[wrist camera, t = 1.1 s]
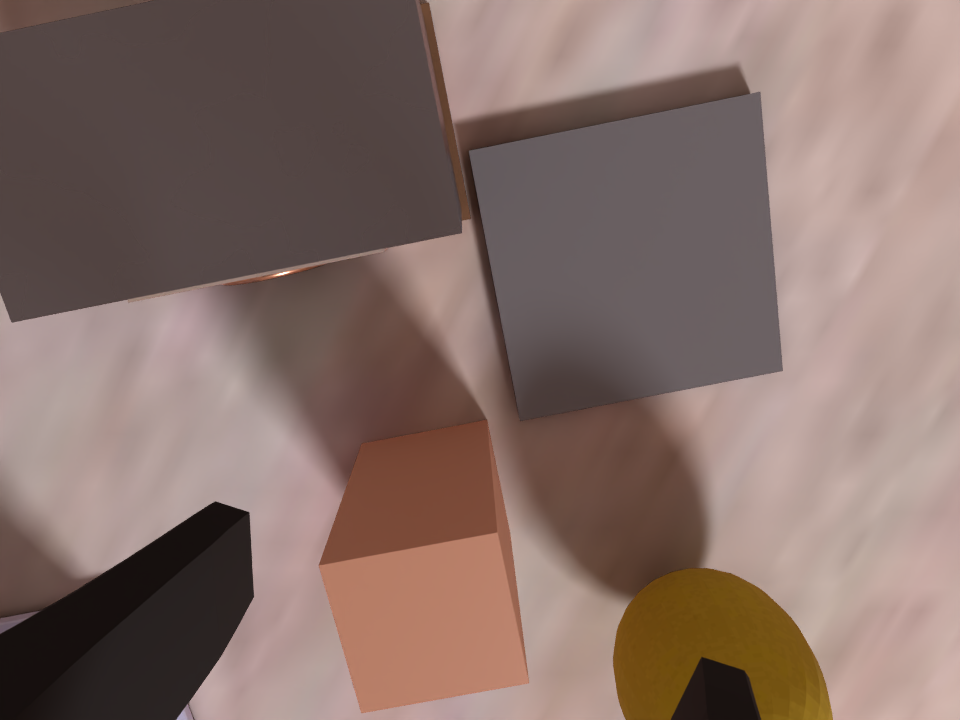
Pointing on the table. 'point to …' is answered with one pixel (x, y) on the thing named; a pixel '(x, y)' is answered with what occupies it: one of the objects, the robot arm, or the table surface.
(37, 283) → the parts unit
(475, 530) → the terracotta block
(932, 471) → the table surface
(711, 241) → the mat
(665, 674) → the lemon
